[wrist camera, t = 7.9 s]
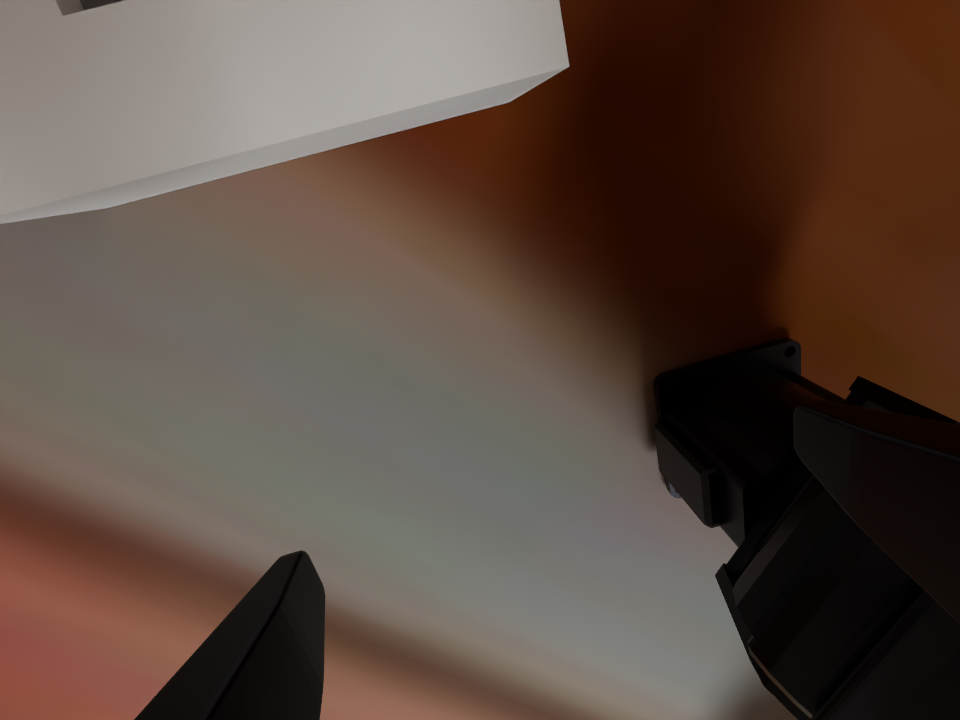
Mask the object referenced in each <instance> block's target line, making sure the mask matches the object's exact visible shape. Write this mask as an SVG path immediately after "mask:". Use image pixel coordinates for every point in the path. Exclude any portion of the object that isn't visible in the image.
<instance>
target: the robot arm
mask: <svg viewBox="0 0 960 720" xmlns="http://www.w3.org/2000/svg"><path fill="white" fill-rule="evenodd" d="M788 347H789V350H788V351H787V352H786V353H785V350H786V349H787V348H788ZM784 353H785V354H784ZM668 381H670V385H669V386H668V387H666V388H663V387H664V384H665V383H666V382H668ZM849 390H850V391H851V393H850V394H849V395H848V397H847V398H846V400H845V399H843V398H841V397H839V396H837V395H836V394H834V393H832V392H830V391H828V390H826V389H824V388H823V387H821V386H819V385H817V384H815V383H813V382H811V381H810V380H808V379H806V378H804V377H802V376H801V347H800V344H799V343H798V342H796V341H794V340H792V339H789V338H783V339H779V340H776V341H772V342H769V343H765V344H762V345H758V346H755V347H751V348H748V349H744V350H741V351H737V352H734V353H730V354H727V355H723V356H720V357H716V358H713V359H709V360H706V361H702V362H699V363H695V364H692V365H688V366H685V367H681V368H678V369H674V370H671V371H667V372H664V373H662V374H660V375H658V376H657V377H656V379H655V381H654V391H655V399H656V407H657V415H658V421H656V423H655V425H654V433H655V440H656V448H657V456H658V463H659V470H660V472H661V473H662V474H663V475H664V477H665V480H666V487H667V490H668V491H669V493H670V494H671V495H672V496H673V497H675V498H683V500H684V501H685V502H686V503H687V504H688V506H689V507H690V508H691V509H692V510H693V512H694V513H695V514H696V515H697V516H698V518H699V519H700V520H701V521H702V523H703V524H704V525H706V526H708V527H710V528H714V527H717V526H720V527H721V528H722V529H723V530H724V532H725V533H726V534H727V535H728V536H729V537H730V538H731V540H732V541H733V542H734V543H735V544H736V545H737V547H738V549H737V550H736V552H735V553H734V555H733V556H732V557H731V559H730V560H729V561H728V563H727V564H723V565H722V566H721V567H720V569H719V570H718V571H717V573H716V574H715V577H716V579H717V582H718V584H719V586H720V589H721V591H722V594H723V596H724V599H725V601H726V603H727V606H728V608H729V611H730V613H731V615H732V618H733V620H734V623H735V625H736V627H737V630H738V632H739V635H740V637H741V640H742V642H743V644H744V647H745V649H746V652H747V654H748V656H749V659H750V661H751V663H752V665H753V666H754V668H755V670H756V672H757V673H758V675H759V678H760V680H761V682H762V684H763V685H764V686H765V688H766V689H767V690H768V691H769V692H771V693H772V694H773V695H774V696H775V697H776V698H777V699H778V700H779V701H780V702H781V703H782V704H783V705H784V706H785V707H786V708H787V709H788V710H789V711H790V712H791V713H792V714H793V715H794V716H795V717H796V718H797V719H798V720H960V423H959V422H957V421H955V420H953V419H951V418H949V417H946V416H944V415H942V414H940V413H938V412H936V411H933V410H931V409H929V408H927V407H925V406H923V405H920V404H918V403H916V402H914V401H912V400H910V399H907V398H905V397H903V396H901V395H899V394H897V393H894V392H892V391H890V390H888V389H886V388H884V387H881V386H879V385H877V384H875V383H873V382H870V381H868V380H866V379H864V378H862V377H860V376H858V377H857V378H856V380H855V381H854V383H853V384H852V385H851V387H850V388H849ZM324 639H325V591H324V587H323V584H322V582H321V580H320V578H319V576H318V573H317V571H316V569H315V567H314V565H313V563H312V561H311V559H310V557H309V555H308V554H307V553H306V552H305V551H297V552H294V553H290V554H287V555H284V556H281V557H280V558H279V559H278V560H277V561H276V562H275V563H274V564H273V565H272V566H271V567H270V569H269V570H268V571H267V572H266V573H265V574H264V575H263V576H262V578H261V579H260V580H259V581H258V582H257V583H256V584H255V585H254V586H253V588H252V589H251V590H250V591H249V592H248V593H247V594H246V595H245V596H244V598H243V599H242V600H241V601H240V602H239V603H238V604H237V605H236V607H235V608H234V609H233V610H232V611H231V612H230V613H229V614H228V615H227V617H226V618H225V619H224V620H223V621H222V622H221V623H220V624H219V626H218V627H217V628H216V629H215V630H214V631H213V632H212V633H211V634H210V636H209V637H208V638H207V639H206V640H205V641H204V642H203V643H202V645H201V646H200V647H199V648H198V649H197V650H196V651H195V652H194V653H193V655H192V656H191V657H190V658H189V659H188V660H187V661H186V662H185V663H184V665H183V666H182V667H181V668H180V669H179V670H178V671H177V672H176V674H175V675H174V676H173V677H172V678H171V679H170V680H169V681H168V682H167V684H166V685H165V686H164V687H163V688H162V689H161V690H160V691H159V692H158V694H157V695H156V696H155V697H154V698H153V699H152V700H151V701H150V703H149V704H148V705H147V706H146V707H145V708H144V709H143V710H142V711H141V713H140V714H139V715H138V716H137V717H136V718H135V719H134V720H320V712H321V704H322V694H323V681H324Z"/></svg>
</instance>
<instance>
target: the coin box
mask: <svg viewBox="0 0 960 720" xmlns="http://www.w3.org/2000/svg"><path fill="white" fill-rule="evenodd" d="M568 67H569V61H568V55H567V48H566V42H565V35H564V29H563V22H562V16H561V9H560V3H559V0H0V224H3V223H9V222H16V221H23V220H30V219H36V218H43V217H50V216H57V215H64V214H70V213H77V212H84V211H91V210H98V209H104V208H110V207H114V206H118V205H121V204H125V203H129V202H133V201H136V200H140V199H144V198H148V197H152V196H155V195H159V194H163V193H167V192H171V191H174V190H178V189H182V188H186V187H190V186H193V185H197V184H201V183H205V182H209V181H212V180H216V179H220V178H224V177H228V176H231V175H235V174H239V173H243V172H247V171H250V170H254V169H258V168H262V167H266V166H269V165H273V164H277V163H281V162H285V161H288V160H292V159H296V158H300V157H304V156H307V155H311V154H315V153H319V152H323V151H326V150H330V149H334V148H338V147H342V146H345V145H349V144H353V143H357V142H361V141H364V140H368V139H372V138H376V137H380V136H383V135H387V134H391V133H395V132H399V131H402V130H406V129H410V128H414V127H418V126H421V125H425V124H429V123H433V122H436V121H440V120H444V119H448V118H452V117H455V116H459V115H463V114H467V113H471V112H474V111H478V110H482V109H486V108H490V107H493V106H497V105H501V104H505V103H509V102H511V101H512V100H514V99H516V98H517V97H519V96H521V95H522V94H524V93H526V92H527V91H529V90H531V89H532V88H534V87H536V86H537V85H539V84H541V83H542V82H544V81H546V80H548V79H549V78H551V77H553V76H554V75H556V74H558V73H559V72H561V71H563V70H564V69H566V68H568Z"/></svg>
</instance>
